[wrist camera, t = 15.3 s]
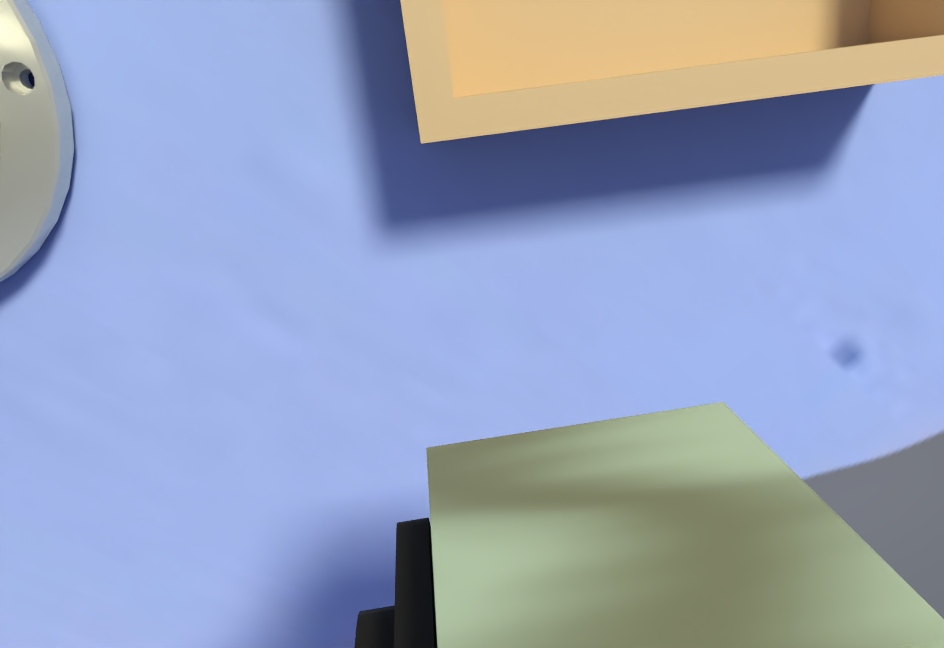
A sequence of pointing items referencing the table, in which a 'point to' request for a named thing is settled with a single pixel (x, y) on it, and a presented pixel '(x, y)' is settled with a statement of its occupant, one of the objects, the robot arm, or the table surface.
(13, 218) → the robot arm
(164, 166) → the table surface
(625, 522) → the green block
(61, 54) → the table surface
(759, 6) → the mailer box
